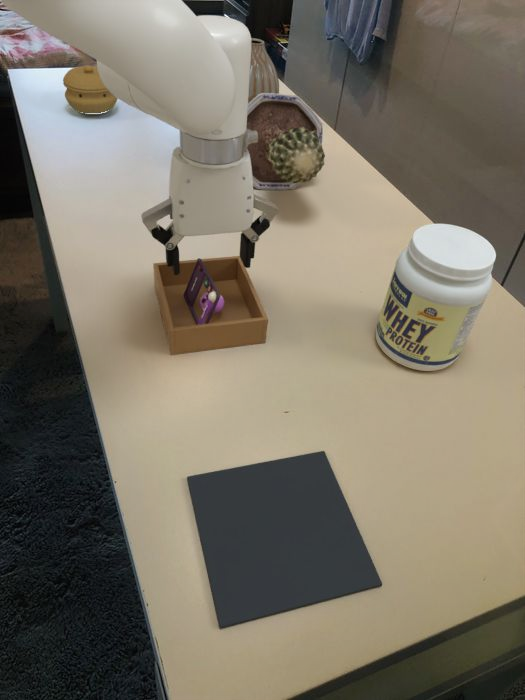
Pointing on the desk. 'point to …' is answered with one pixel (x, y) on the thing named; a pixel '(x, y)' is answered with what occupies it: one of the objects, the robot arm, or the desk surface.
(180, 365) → the desk surface
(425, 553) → the desk surface
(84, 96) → the pot
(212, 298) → the purple toy figure
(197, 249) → the desk surface
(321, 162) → the potted plant
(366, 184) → the desk surface
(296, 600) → the mat
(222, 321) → the box
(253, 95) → the vase
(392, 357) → the supplement tub
